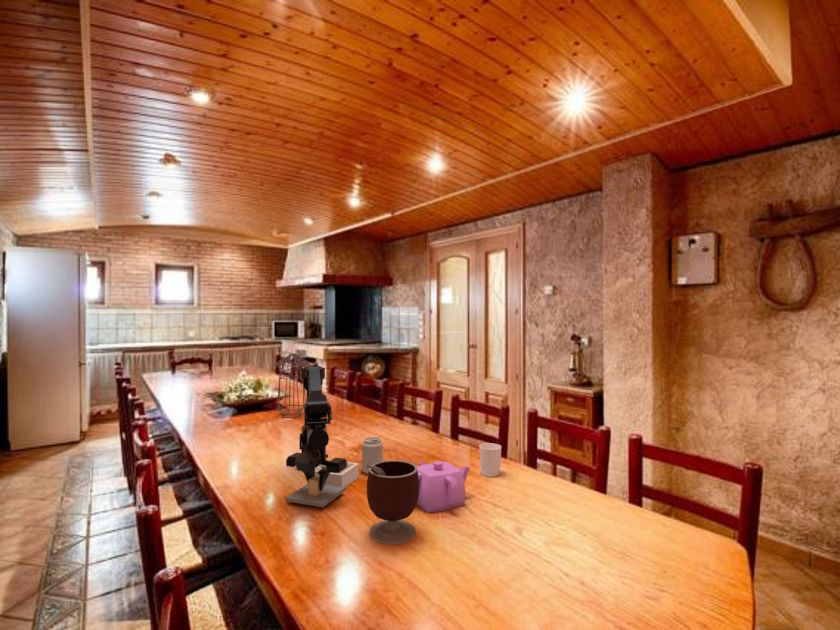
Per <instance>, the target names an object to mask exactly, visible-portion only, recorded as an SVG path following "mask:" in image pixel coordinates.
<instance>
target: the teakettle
mask: <svg viewBox="0 0 840 630" xmlns="http://www.w3.org/2000/svg"><path fill="white" fill-rule="evenodd" d="M416 466H417V472H418V477H419V497H418V502H417V506H418V507H419V508H420V509H422V510H423V511H425V512H426V513H437V512H442V511H447V510H451V509H454V508H459V507H461V506H463V505H464V504H465V501H466V486H465V483H466V480H467V477H468V475H469V472H470V470H471V468H470V467H469V466H467V465H466V466H465V465H463V466H462V467H461V469H460V468H458V467H457V466H455V465H453V464H451V463H449V462H447V461H442V460H441V461H440V460H437V461H433V462H432V463H427V464H426V462H418V465H416Z"/></svg>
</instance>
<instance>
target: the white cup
mask: <svg viewBox="0 0 840 630" xmlns="http://www.w3.org/2000/svg"><path fill="white" fill-rule="evenodd" d="M478 449H479V465H480V474H481V475H482V476H484V477H491V478H494V477H495V478H496V477H498V476H500V472H501V470H500V469H501V460H502V457H501V456H502V445H500V444H497V443H492V442H491V443H490V442H484V443H481V444H479V447H478Z"/></svg>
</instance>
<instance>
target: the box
mask: <svg viewBox="0 0 840 630" xmlns="http://www.w3.org/2000/svg"><path fill="white" fill-rule="evenodd" d="M329 460H330V461H331V460H332V459H329ZM359 466H360V464H359V463H358V462H357V463H356V462H349V461H347V468H345V469H344V470H343V471H341V474H339V473H331V472H330V474H329V476H328V478H327V480H326V483H325V485H332V486H338V487H345V489H346V488H347V487H348V486H350V485H351V484H352V483H353V482H355V481H356V480H357V479H359ZM320 470H321V466H318V467H317V468H316V467H315V475H318V476H319V474H318V471H320Z"/></svg>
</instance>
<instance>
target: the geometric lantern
mask: <svg viewBox="0 0 840 630" xmlns="http://www.w3.org/2000/svg"><path fill="white" fill-rule="evenodd" d="M291 358H292V359H293V361H291ZM286 363H287V364H286ZM309 364H310V362H309V361H308V360H306V359H304V358H302V357H301V356H299V355H297V354H295V353H290V354H289V355H287V356H285V357H283V358H282V359H280V360H278V361H277V362H274V365H275V366H276V368H278V369H279V378H278V379H279V380H278V391H277V398H276V399H277V400H276V410H277V411H279V412H280V413H281V414H282V416H281V417H282V418H289V419H291V418H292V419H296V418H297V419H298V417H300V416H301V415H302V411H304V404H306V390H305V388H304V387H303V386H302V403H303V404H300V402H299V383H298V382H299V381H298V379H300V380H301V377H299V374H300V373H301V369H302V368H304V367H308V366H309ZM285 366H286V367H287V369H284V367H285ZM298 366H299V367H298ZM289 367H290V368H289ZM292 369H293V370H292ZM296 369H299V372H298V373H297V375H296V376H294V375H293V373H294V371H295V370H296ZM290 370H292V371H290ZM286 372H289V374H290V375H288V374H287V373H286ZM283 373H284V374H285V376H282V374H283ZM288 377H289V378H288ZM291 377H292V378H291ZM282 379H283V380H285V381H286V382H285V391H284V392H285V393H284V405H282V406H280V405H281V404H280V403H281V402H280V401H281V400H280V399H281V381H282ZM288 380H289V381H293V384H292V385H293V388H292V389H293V391H292V392H293V395H292V397H293V398H292V401H293V403H292V404H291V382H289V391H288V392H289V393H288V404H286V401H287V388H288ZM295 380H296V394H297V395H296V397H297V404H295ZM292 406H293V409H289V408H290V407H292ZM283 407H284V408H285V409H284V408H283ZM287 407H288V408H287ZM295 407H297V409H295ZM286 415H294V417H293V416H286Z"/></svg>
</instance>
